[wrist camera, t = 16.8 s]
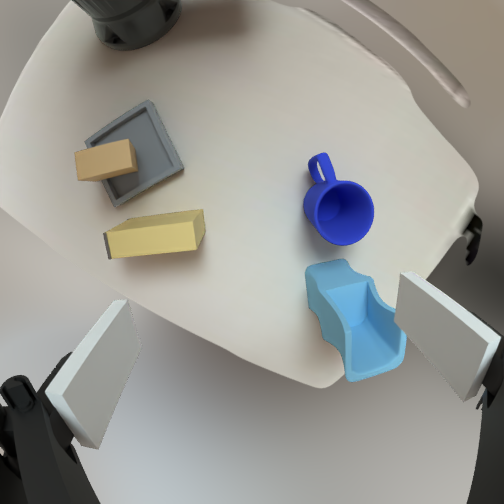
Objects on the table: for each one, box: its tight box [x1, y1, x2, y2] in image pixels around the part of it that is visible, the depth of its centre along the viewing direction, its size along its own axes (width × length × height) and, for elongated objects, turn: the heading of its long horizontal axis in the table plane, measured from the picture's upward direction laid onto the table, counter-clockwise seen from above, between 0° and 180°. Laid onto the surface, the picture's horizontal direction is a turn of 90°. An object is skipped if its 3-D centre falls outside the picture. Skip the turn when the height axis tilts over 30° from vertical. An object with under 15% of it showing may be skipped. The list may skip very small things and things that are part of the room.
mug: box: [304, 153, 374, 246], centre depth 38 cm, size 8×12×10 cm
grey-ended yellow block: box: [103, 209, 205, 259], centre depth 38 cm, size 12×4×10 cm, turn 95°
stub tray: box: [85, 100, 184, 207], centre depth 38 cm, size 12×12×2 cm
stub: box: [75, 139, 138, 182], centre depth 33 cm, size 7×4×10 cm, turn 97°
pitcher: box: [305, 259, 407, 382], centre depth 38 cm, size 8×8×20 cm
